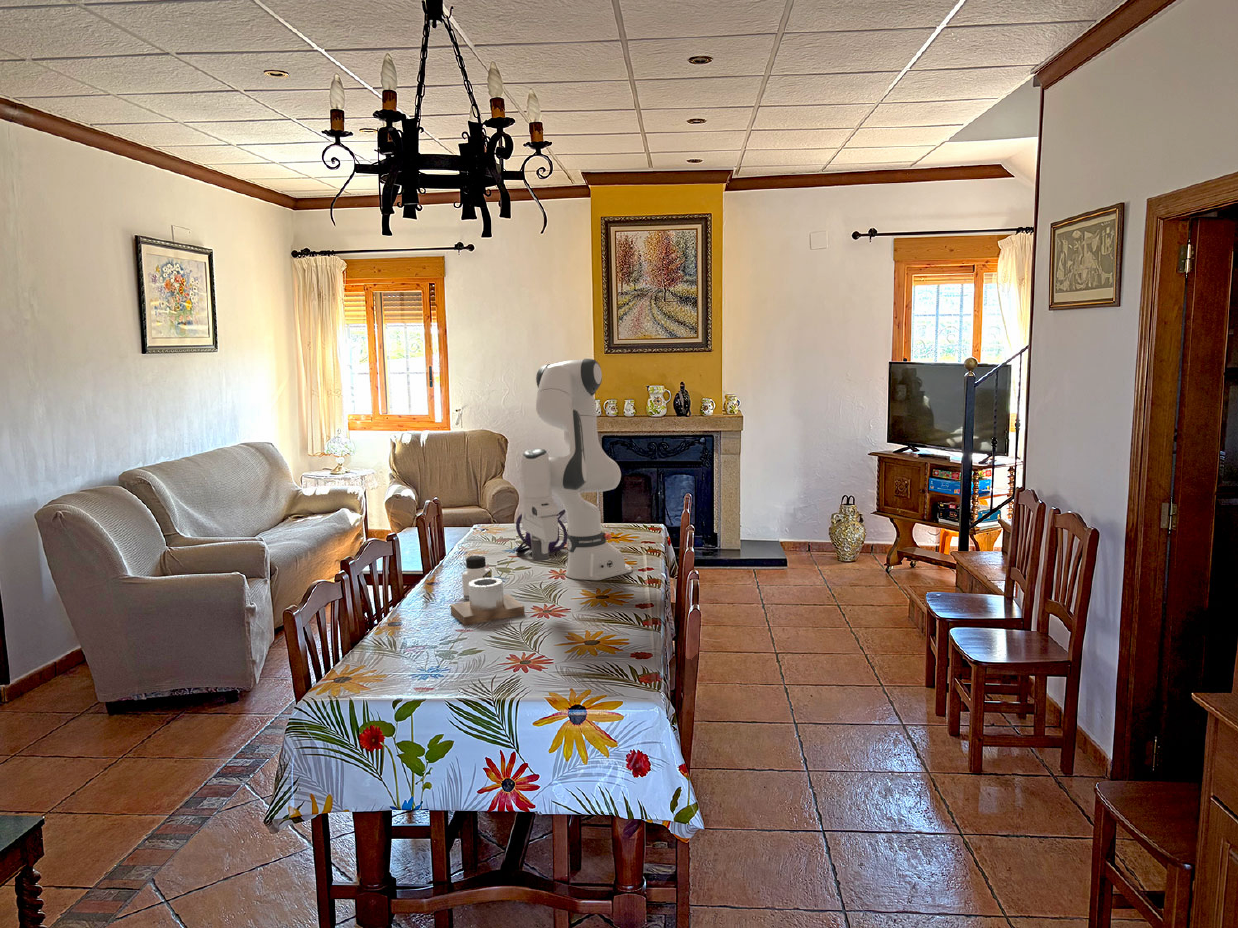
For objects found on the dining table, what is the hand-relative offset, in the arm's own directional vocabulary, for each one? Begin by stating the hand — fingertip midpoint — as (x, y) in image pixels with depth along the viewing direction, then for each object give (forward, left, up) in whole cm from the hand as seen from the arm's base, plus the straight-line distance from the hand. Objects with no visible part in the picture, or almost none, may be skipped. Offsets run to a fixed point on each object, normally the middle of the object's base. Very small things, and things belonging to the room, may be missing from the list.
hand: (540, 550), depth 261 cm
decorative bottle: (-26, -66, -18) cm, 73 cm away
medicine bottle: (+12, -26, -18) cm, 34 cm away
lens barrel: (+16, -4, -15) cm, 22 cm away
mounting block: (+16, -4, -17) cm, 24 cm away
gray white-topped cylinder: (0, 0, -2) cm, 2 cm away
